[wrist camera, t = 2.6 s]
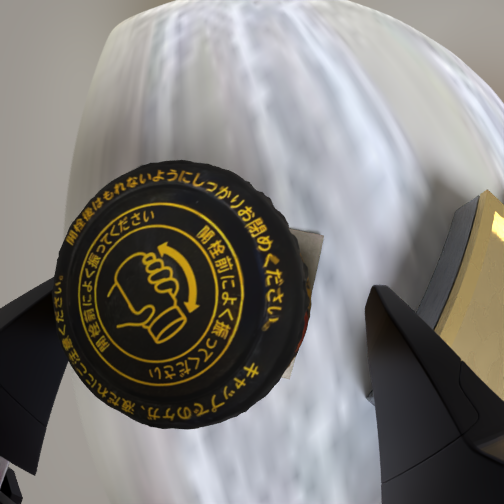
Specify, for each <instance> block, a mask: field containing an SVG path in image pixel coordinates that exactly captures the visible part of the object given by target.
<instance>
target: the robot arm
mask: <svg viewBox="0 0 504 504" xmlns="http://www.w3.org/2000/svg"><path fill="white" fill-rule="evenodd" d="M53 286H54V277H53V278H51V279H49V280H48V281H46V282H44V283H42V284H40V285H39V286H37V287H35V288H34V289H32V290H30V291H28V292H27V293H25V294H23V295H22V296H20V297H18V298H17V299H15V300H13V301H12V302H10V303H8V304H7V305H5V306H4V307H2V308H0V504H21V502H22V499H23V497H22V494H21V492H20V489H19V486H18V482H17V479H16V476H15V473H14V471H13V470H12V469H11V468H9V467H8V466H9V463H10V462H11V463H12V464H14V465H16V466H18V467H19V468H21V469H23V470H25V471H27V472H29V473H30V474H32V475H34V476H35V474H36V471H37V467H38V462H39V457H40V453H41V448H42V444H43V440H44V436H45V432H46V427H47V424H48V421H49V417H50V414H51V410H52V407H53V404H54V401H55V398H56V394H57V392H58V389H59V385H60V383H61V380H62V377H63V374H64V372H65V369H66V366H67V364H68V359H67V357H66V355H65V353H64V351H63V349H62V348H61V345H60V342H59V339H58V335H57V329H56V319H55V313H54V306H53V299H52V290H53ZM365 321H366V334H367V351H368V361H369V368H370V374H371V381H372V387H373V395H374V402H375V410H376V419H377V428H378V439H379V451H380V466H381V483H382V484H381V493H382V504H504V401H503V400H502V399H501V398H500V397H499V396H498V395H497V394H496V393H495V392H493V391H492V390H491V389H490V388H489V387H488V386H487V385H486V384H485V383H484V382H483V381H482V380H481V379H480V378H479V377H478V376H477V375H476V374H475V372H474V371H473V370H472V369H471V368H470V367H469V366H468V365H467V364H466V363H465V362H464V361H463V360H462V361H461V358H460V357H459V356H458V355H457V354H456V353H455V351H454V350H453V349H452V348H451V347H450V346H449V345H448V344H447V343H446V342H445V341H444V340H443V339H442V338H441V337H440V336H439V335H438V334H437V333H436V332H435V331H434V330H433V329H432V328H431V327H430V326H429V325H428V324H427V323H426V322H425V321H424V320H423V319H422V318H421V317H420V316H419V315H418V314H416V313H415V312H414V311H413V310H412V309H411V308H410V307H409V306H408V305H407V304H406V303H405V302H404V301H403V300H402V299H401V298H400V297H399V296H397V295H396V294H395V293H394V292H393V291H392V290H391V289H390V288H389V287H388V286H386V285H373V286H372V288H371V290H370V294H369V297H368V300H367V303H366V306H365Z"/></svg>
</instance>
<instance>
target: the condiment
mask: <svg viewBox="0 0 504 504" xmlns="http://www.w3.org/2000/svg"><path fill="white" fill-rule="evenodd" d="M323 238H324V236H323V235H318V234H314V233H308V232H303V231H299V230H294V229H290V228H289V225H288V222H287V221H286V219H285V217H284V216H283V215H282V214H281V213H280V212H279V211H278V210H276V209H275V207H274V206H273V203H272V201H271V199H270V198H269V197H267V196H265V194H264V193H263V192H259V191H256V190H255V189H254V188H253V187H252V185H251V184H250V182H247V181H245V180H244V179H242V178H241V177H240V176H238V175H237V174H235V173H233V172H231V171H229V170H225V169H221V168H219V167H216V166H212V165H210V164H204V163H194V162H191V161H186V160H176V161H164V162H159V163H149V164H146V165H141V166H140V167H138V168H136V169H134V170H132V171H130V172H128V173H126V174H124V175H122V176H120V177H118V178H117V179H115V180H113V181H111V182H110V183H109V184H107V185H106V186H105V187H104V188H102V189H101V190H100V191H99V192H98V193H97V194H96V195H95V197H93V198H92V199H91V200H90V201H89V202H88V204H87V205H86V206H85V208H84V209H83V210H82V212H81V213H80V214H79V216H78V217H77V218H76V219H75V221H73V222H72V224H71V226H70V227H69V230H68V233H67V235H66V237H65V239H64V242H63V244H62V247H61V249H60V251H59V257H58V259H57V265H56V271H55V275H54V286H53V290H52V299H53V306H54V313H55V319H56V329H57V335H58V339H59V342H60V345H61V348H62V349H63V351H64V353H65V355H66V357H67V359H68V361H69V362H70V364H71V366H72V368H73V369H74V371H75V372H76V374H77V375H78V376H79V378H80V379H81V381H82V382H83V383H84V384H85V385H86V387H87V388H88V389H89V390H90V391H91V392H92V393H93V394H94V395H95V396H96V397H97V398H98V399H100V400H101V401H103V402H104V403H105V404H107V405H108V406H110V407H111V408H113V409H116V410H118V411H120V412H121V413H123V414H125V415H126V416H128V417H130V418H131V419H133V420H135V421H137V422H139V423H141V424H145V425H148V426H150V427H156V428H161V429H169V428H175V429H196V428H200V427H204V426H209V425H213V424H217V423H221V422H223V421H226V420H228V419H230V418H233V417H237V416H238V415H239V414H241V413H243V412H246V411H247V410H248V409H249V408H250V407H251V406H253V405H254V404H255V403H256V402H258V401H259V400H261V399H262V398H264V397H265V396H266V395H267V394H268V393H269V392H270V391H271V390H272V388H273V387H274V386H275V385H276V384H277V383H278V382H279V380H280V379H281V377H282V378H286V379H290V376H291V372H292V369H293V365H294V361H295V357H296V355H297V353H298V351H299V347H300V346H301V343H302V341H303V339H304V336H305V333H306V330H307V326H308V321H309V318H310V309H311V295H312V289H313V285H314V281H315V276H316V271H317V267H318V262H319V258H320V253H321V248H322V243H323Z"/></svg>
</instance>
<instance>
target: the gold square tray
mask: <svg viewBox="0 0 504 504" xmlns="http://www.w3.org/2000/svg"><path fill="white" fill-rule="evenodd" d="M416 314H418V315H419V316H420V317H421V318H422V319H423V320H424V321H425V322H426V323H427V324H428V325H429V326H430V327H431V328H432V329H433V330H434V331H435V332H436V333H437V334H438V335H439V336H440V337H441V338H442V339H443V340H444V341H445V342H446V343H447V344H448V345H449V346H450V347H451V348H452V349H453V350H454V351H455V353H456V354H457V355H458V356H459V357H460V358H461V361H462V360H463V361H464V362H465V363H466V364H467V365H468V366H469V367H470V368H471V369H472V370H473V371H474V372H475V374H476V375H477V376H478V377H479V378H480V379H481V380H482V381H483V382H484V383H485V384H486V385H487V386H488V387H489V388H490V389H491V390H492V391H493V392H495V393H496V394H497V395H498V396H499V397H500V398H501V399H502V400H503V401H504V205H503V204H502V203H501V202H500V201H499V200H498V199H497V198H496V197H495V196H494V195H493V194H492V193H491V192H490V191H488V190H486V191H484V192H483V193H482V194H480V196H477V197H476V198H474V199H473V200H471V201H470V202H468V203H467V204H465V205H464V206H462V207H461V208H459V209H458V210H456V212H455V215H454V219H453V222H452V225H451V228H450V231H449V234H448V237H447V240H446V243H445V246H444V248H443V251H442V254H441V257H440V259H439V262H438V264H437V267H436V269H435V272H434V274H433V277H432V279H431V282H430V284H429V286H428V288H427V291H426V293H425V295H424V297H423V300H422V302H421V304H420V306H419V308H418V310H417V312H416ZM367 400H368V401H369V402H370V403H372V404H373V405H374V406H375V402H374V395H373V390H372V391H371V393H370V394H369V396H368V397H367Z"/></svg>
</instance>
